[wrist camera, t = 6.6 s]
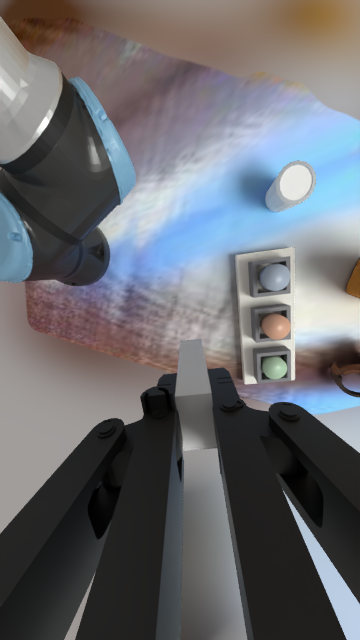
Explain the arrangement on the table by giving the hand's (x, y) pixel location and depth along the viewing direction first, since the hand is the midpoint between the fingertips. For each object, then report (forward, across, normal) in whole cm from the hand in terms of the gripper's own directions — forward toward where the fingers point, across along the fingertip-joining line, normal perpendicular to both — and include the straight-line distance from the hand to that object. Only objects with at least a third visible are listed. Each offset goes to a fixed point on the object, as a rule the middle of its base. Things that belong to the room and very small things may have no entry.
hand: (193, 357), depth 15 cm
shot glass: (+34, +21, +18) cm, 44 cm away
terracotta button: (+29, +17, -8) cm, 34 cm away
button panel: (+33, +17, -8) cm, 38 cm away
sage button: (+30, +17, -18) cm, 39 cm away
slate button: (+29, +17, +2) cm, 34 cm away
